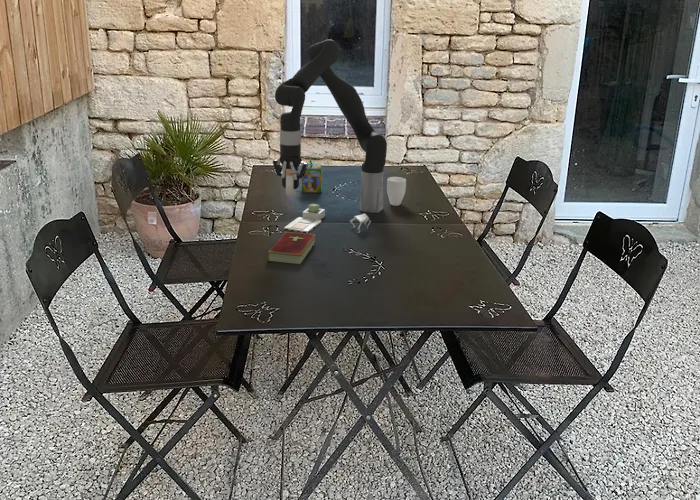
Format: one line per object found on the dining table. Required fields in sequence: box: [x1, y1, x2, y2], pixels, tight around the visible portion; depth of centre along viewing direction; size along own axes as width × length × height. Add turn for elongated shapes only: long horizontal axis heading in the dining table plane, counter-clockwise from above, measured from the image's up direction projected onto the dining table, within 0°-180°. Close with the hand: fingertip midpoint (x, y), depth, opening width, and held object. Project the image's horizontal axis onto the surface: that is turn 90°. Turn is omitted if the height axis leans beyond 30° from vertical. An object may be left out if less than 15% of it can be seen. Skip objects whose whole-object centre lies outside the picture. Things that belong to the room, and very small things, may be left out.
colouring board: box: [283, 216, 322, 234], centre depth 265 cm, size 10×14×1 cm
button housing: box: [302, 207, 326, 221], centre depth 274 cm, size 7×7×3 cm
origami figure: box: [349, 213, 372, 234], centre depth 262 cm, size 12×8×5 cm
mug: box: [386, 176, 407, 207], centre depth 295 cm, size 12×8×11 cm
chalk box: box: [301, 157, 323, 194], centre depth 308 cm, size 9×9×15 cm
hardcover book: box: [266, 231, 317, 265], centre depth 238 cm, size 12×21×4 cm, turn 169°
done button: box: [308, 203, 320, 213], centre depth 273 cm, size 4×4×3 cm
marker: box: [285, 169, 297, 197], centre depth 246 cm, size 4×4×10 cm
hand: (290, 187), depth 247 cm, fingers closed on marker, 3 cm apart
